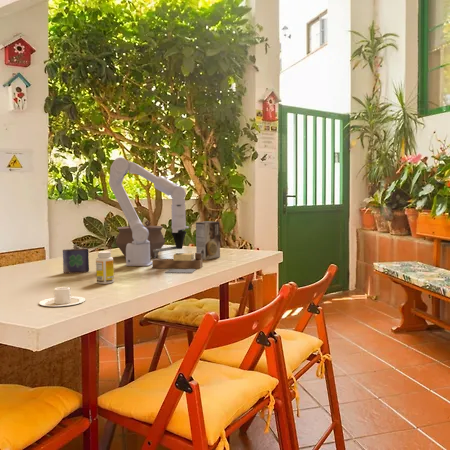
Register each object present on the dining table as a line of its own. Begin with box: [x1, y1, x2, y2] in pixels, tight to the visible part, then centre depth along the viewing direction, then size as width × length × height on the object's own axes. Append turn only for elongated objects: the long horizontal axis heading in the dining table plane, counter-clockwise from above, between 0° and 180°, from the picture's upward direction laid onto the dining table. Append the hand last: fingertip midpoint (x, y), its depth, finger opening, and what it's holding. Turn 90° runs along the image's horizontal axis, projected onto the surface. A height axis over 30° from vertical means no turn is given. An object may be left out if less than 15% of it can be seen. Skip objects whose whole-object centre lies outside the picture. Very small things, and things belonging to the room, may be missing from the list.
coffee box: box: [195, 220, 221, 260], centre depth 221 cm, size 9×6×16 cm
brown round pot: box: [115, 219, 166, 259], centre depth 228 cm, size 24×24×16 cm
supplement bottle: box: [95, 250, 115, 285], centre depth 163 cm, size 6×6×10 cm
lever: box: [153, 245, 178, 259], centre depth 201 cm, size 15×2×4 cm, turn 147°
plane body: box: [151, 252, 204, 269], centre depth 195 cm, size 19×4×6 cm, turn 82°
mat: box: [164, 268, 197, 274], centre depth 185 cm, size 10×8×1 cm
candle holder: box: [38, 286, 86, 308], centre depth 135 cm, size 12×12×4 cm
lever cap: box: [172, 252, 195, 261], centre depth 194 cm, size 7×5×2 cm
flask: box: [62, 243, 90, 274], centre depth 186 cm, size 9×3×11 cm, turn 109°
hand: (179, 248), depth 205 cm, fingers closed
